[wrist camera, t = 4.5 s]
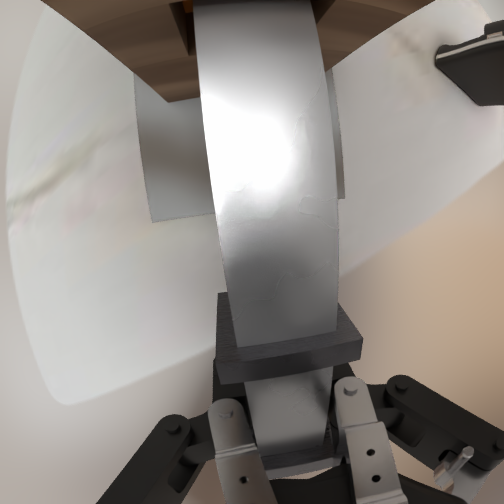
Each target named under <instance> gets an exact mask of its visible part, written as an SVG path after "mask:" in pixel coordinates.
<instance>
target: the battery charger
mask: <svg viewBox="0 0 504 504" xmlns="http://www.w3.org/2000/svg"><path fill="white" fill-rule="evenodd" d="M436 64H437V66H438V67H439V68H440V69H441V70H442V71H443V72H444V73H446V74H447V75H448V76H449V77H450V78H451V79H452V80H453V81H454V82H455V83H456V84H457V85H458V86H459V87H461V88H462V89H463V90H464V91H465V92H466V93H467V94H468V95H469V96H470V97H471V98H472V99H473V100H474V101H475V102H476V103H477V104H478V105H479V106H494V105H504V20H501V21H496V22H492V23H489V24H486V25H485V27H484V35H481V36H480V37H478V38H475V39H472V40H469V41H467V42H464V43H462V44H458V45H442V46H441V47H440V48H439V50H438V54H437V56H436Z"/></svg>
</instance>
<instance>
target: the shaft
mask: <svg viewBox="0 0 504 504" xmlns="http://www.w3.org/2000/svg"><path fill="white" fill-rule="evenodd" d="M193 13H194V27H195V39H196V51H197V62H198V73H199V83H200V93H201V102H202V111H203V120H204V129H205V137H206V146H207V154H208V162H209V169H210V177H211V185H212V192H213V199H214V206H215V213H216V220H217V227H218V234H219V240H220V247H221V253H222V260H223V266H224V272H225V279H226V285H227V291H228V292H223V293H218V302H217V327H216V362H215V365H216V368H217V372H218V376H219V379H220V383H221V385H223V384H232V383H241V382H244V384H245V389H246V394H247V399H248V404H249V409H250V414H251V419H252V423H253V427H250V431H251V434H252V437H253V440H254V443H255V445H256V447H257V449H258V452H259V455H260V458H261V460H262V463H263V466H264V469H265V471H266V474H267V477H268V479H276V478H282V477H288V476H293V475H299V474H303V473H309V472H313V471H317V470H322V469H325V468H329V467H332V465H333V455H332V447H331V439H330V432H329V417H328V408H329V400H330V392H331V383H332V374H333V366H336V365H340V364H344V363H348V362H352V361H356V360H360V357H361V350H362V343H363V337H362V336H361V334H360V333H359V331H358V330H357V328H356V327H355V326H354V324H353V323H352V321H351V320H350V319H349V317H348V316H347V314H346V313H345V312H344V310H343V309H342V307H341V306H340V305H339V303H338V270H339V236H338V200H337V181H336V166H335V153H334V142H333V131H332V122H331V113H330V105H329V98H328V91H327V84H326V77H325V71H324V65H323V59H322V54H321V48H320V43H319V38H318V33H317V28H316V24H315V19H314V15H313V10H312V6H311V2H310V0H193Z"/></svg>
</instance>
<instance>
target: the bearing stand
mask: <svg viewBox="0 0 504 504" xmlns="http://www.w3.org/2000/svg"><path fill="white" fill-rule="evenodd" d="M41 1H43V2H44V3H45V4H47V5H48V6H50V7H51V8H52V9H54V10H55V11H57V12H58V13H59V14H61V15H62V16H63V17H65V18H66V19H68V20H69V21H70V22H72V23H73V24H74V25H76V26H77V27H78V28H79V29H81V30H82V31H83V32H85V33H86V34H87V35H88V36H90V37H91V38H92V39H94V40H95V41H96V42H97V43H99V44H100V45H101V46H102V47H104V48H105V49H106V50H107V51H108V52H110V53H111V54H112V55H113V56H115V57H116V58H117V59H118V60H119V61H121V62H122V63H123V64H124V65H125V66H127V67H128V68H129V69H130V70H131V71H132V72H134V88H135V102H136V114H137V125H138V134H139V143H140V151H141V158H142V166H143V172H144V179H145V185H146V191H147V197H148V203H149V209H150V214H151V219H152V223H153V222H159V221H165V220H172V219H178V218H184V217H191V216H198V215H205V214H212V213H215V206H214V199H213V192H212V185H211V177H210V169H209V162H208V154H207V146H206V137H205V129H204V120H203V111H202V102H201V93H200V83H199V73H198V62H197V51H196V39H195V27H194V13H193V12H189V13H185V9H184V6H183V2H182V1H184V0H41ZM433 1H435V0H310V2H311V6H312V10H313V15H314V19H315V24H316V28H317V33H318V38H319V43H320V48H321V54H322V59H323V65H324V71H325V77H326V84H327V91H328V98H329V105H330V113H331V122H332V131H333V142H334V153H335V166H336V181H337V199H345V189H344V171H343V157H342V145H341V134H340V124H339V116H338V107H337V100H336V92H335V86H334V79H333V73H332V67H333V66H334V65H336V64H337V63H338V62H340V61H341V60H342V59H344V58H345V57H347V56H348V55H349V54H351V53H352V52H353V51H355V50H356V49H358V48H359V47H361V46H362V45H363V44H365V43H366V42H368V41H369V40H371V39H372V38H374V37H375V36H377V35H378V34H380V33H381V32H383V31H384V30H386V29H387V28H389V27H391V26H392V25H394V24H395V23H397V22H399V21H400V20H402V19H403V18H405V17H407V16H408V15H410V14H412V13H414V12H415V11H417V10H419V9H421V8H422V7H424V6H426V5H428V4H430V3H431V2H433Z"/></svg>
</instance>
